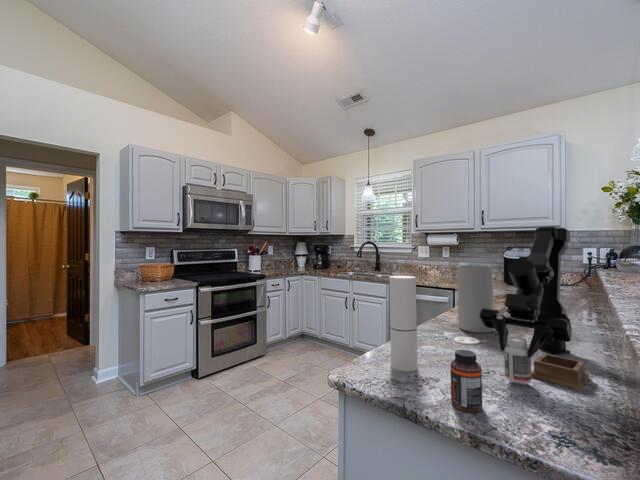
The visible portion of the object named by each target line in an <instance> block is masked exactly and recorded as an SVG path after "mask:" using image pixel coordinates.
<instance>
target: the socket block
mask: <svg viewBox="0 0 640 480" xmlns="http://www.w3.org/2000/svg"><path fill="white" fill-rule="evenodd" d="M585 364H586V363H585V361H582V360H577V359H573V358H569V357H563V356H559V355H555V354H551V353H546V352H542V353H541V354H540V355H539V356H538V357H537V358H536V359H534V361H533V369H532V370H531V378H534V379H536V380H541V381H545V382H547V383H548V382H549V383H552V384H556V385H559V386H563V387H566V388H570V389H574V390H577V391H582V390H584V389H583V388H584V387H585V385H586V384H587V382H588V380H589V379H590V373H588V372H587V373H586V369H585V367H586V365H585Z"/></svg>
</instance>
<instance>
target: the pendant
mask: <svg viewBox="0 0 640 480" xmlns="http://www.w3.org/2000/svg"><path fill="white" fill-rule="evenodd" d="M453 341H454V343H456V344H459V345H464V346H465V345H466V346H467V345H468V346H476V345H478V344H480V340H479V339H477V338H474V337H469V336H457V337H454V339H453ZM482 342H487V341H486V340H482Z"/></svg>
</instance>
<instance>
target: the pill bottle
mask: <svg viewBox="0 0 640 480" xmlns="http://www.w3.org/2000/svg"><path fill="white" fill-rule="evenodd" d="M527 341H528V340H527V339H526V338H523V337H519V336H508V338H507V342H506V346H505V348H504V351H503V353H504V355H503V356H504V377H505V378H506V379H507V380H509V381H510V382H513V383H515V384H524V385H525V384H526V385H527V384H529V383H531V382H532V377H531V372H532V363H531V362H532V361H531V359H532V357H531V358H530V357H528V350H529V348H527V346H528V342H527Z"/></svg>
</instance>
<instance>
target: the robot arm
mask: <svg viewBox="0 0 640 480" xmlns="http://www.w3.org/2000/svg"><path fill="white" fill-rule="evenodd" d="M570 241H571V232H570V230H569V229H568V228H565V227H557V226H554V225H553V226H539V227H536V228H535V231H534V240H533V243H532V246H531V249H530V252H529V255H527V256H519V257H518V259H516V260H513V261H512V262H510V263H509V264H508V265H507V272H508V274H509V276H510V279H511V281H512V282H511V283H512V284H513V286H514V287H515V288H516V292H515V293H506V294H505V300H504V308H505V307H506V308H507V310H506V312H507V314H509V316H507V315H504V314H501V313H500V312H499V310H498V309H494V308H493V309H487V308H483V309H482V310H481V311H480V314H479V316H480V318H481V320H482V322H483V324H484V326H486V327H488V328H493V330H495V332H497V334H498V341H499V347H500V348H499V349H500V351H501V352H504V348H505V347H506V346H507V338H508V337H509V334H510V332H509V329H508V328H507V326H508V325H509V326H513V327H514V326H515V327H520V328H525V329H526V328H527V329H532V330H533V333H532V337H531V341H530V344H529V346H528V357H530V358H531V359H532V357H533V356H534V355H535V354H536V353H537V352H538V351H539V350H541V351H544V352H545V353H546V352H547V353H548V354H551V355H555V354H569V353H570V354H571V351H570V350H568V349H567V347H566V346H567V345H566V344H567V343H568V342H571V341H572V334H573V333H572V332H573V331H572V329H573V328H572V324H571V319H570V318H569V315H568V314H567V312H566V308H565V307H564V305H563V304H562V302H561V299H560V296H561V295H560V294H561V292H560V291H561V289H560V288H561V272H562V271H561V269H562V267H561V266H562V265H561V264H562V255H563V254H564V253H565V251H566V250H567V249H568V247H569V246H568V244H569V242H570Z"/></svg>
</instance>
